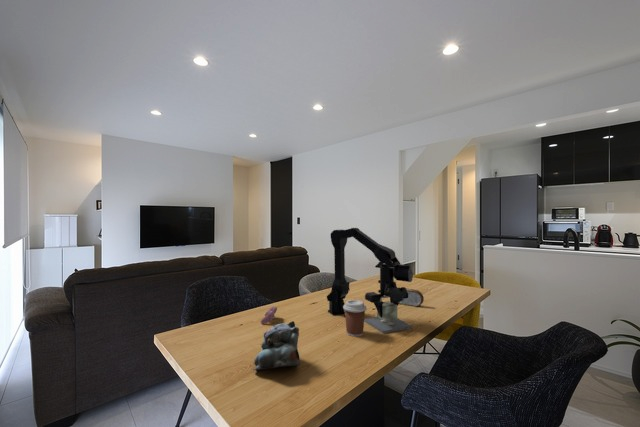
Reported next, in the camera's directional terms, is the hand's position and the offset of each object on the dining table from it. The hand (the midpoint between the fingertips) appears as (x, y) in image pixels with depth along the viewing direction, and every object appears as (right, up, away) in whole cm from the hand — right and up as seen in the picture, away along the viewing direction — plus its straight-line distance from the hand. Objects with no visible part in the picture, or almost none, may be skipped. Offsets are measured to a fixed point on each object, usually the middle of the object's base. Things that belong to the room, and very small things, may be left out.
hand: (387, 315), depth 116 cm
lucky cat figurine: (-42, -3, -33) cm, 53 cm away
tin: (+18, -5, +27) cm, 33 cm away
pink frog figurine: (-51, -4, +5) cm, 51 cm away
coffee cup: (-15, -4, -9) cm, 18 cm away
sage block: (0, -1, 0) cm, 1 cm away
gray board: (0, -4, 0) cm, 4 cm away
